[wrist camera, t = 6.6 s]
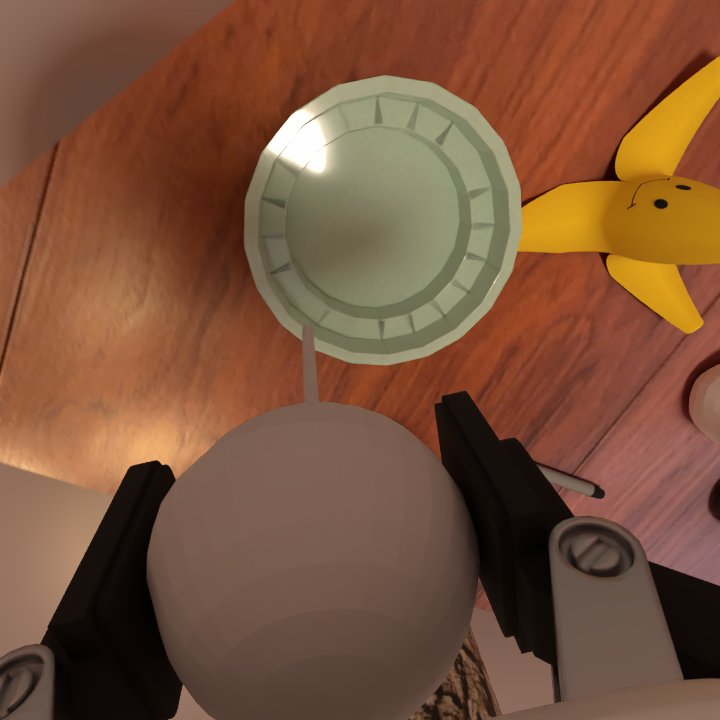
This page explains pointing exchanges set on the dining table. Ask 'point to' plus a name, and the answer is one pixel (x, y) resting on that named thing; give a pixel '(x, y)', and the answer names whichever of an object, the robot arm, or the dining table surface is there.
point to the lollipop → (314, 566)
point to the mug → (718, 506)
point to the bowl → (383, 220)
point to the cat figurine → (707, 403)
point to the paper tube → (462, 690)
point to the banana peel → (642, 207)
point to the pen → (572, 483)
